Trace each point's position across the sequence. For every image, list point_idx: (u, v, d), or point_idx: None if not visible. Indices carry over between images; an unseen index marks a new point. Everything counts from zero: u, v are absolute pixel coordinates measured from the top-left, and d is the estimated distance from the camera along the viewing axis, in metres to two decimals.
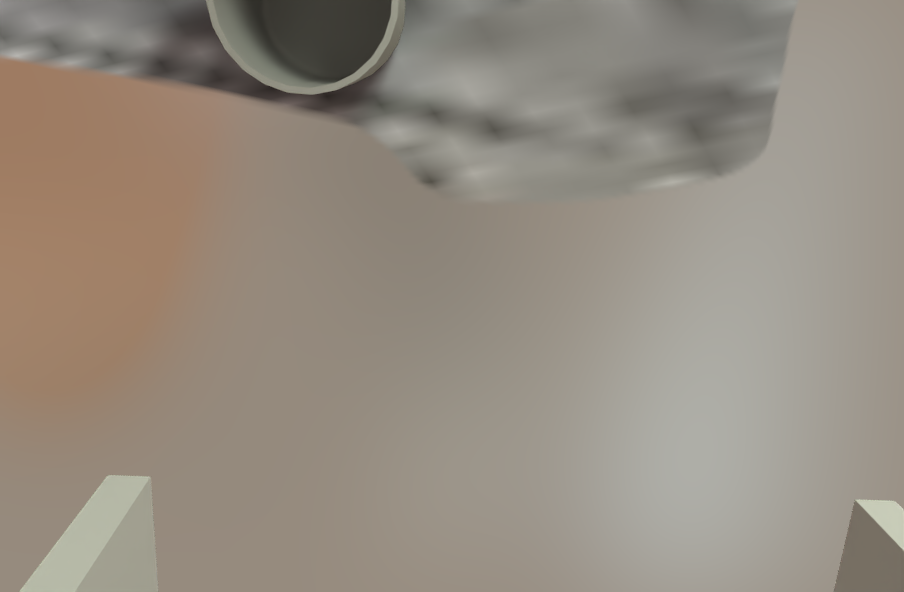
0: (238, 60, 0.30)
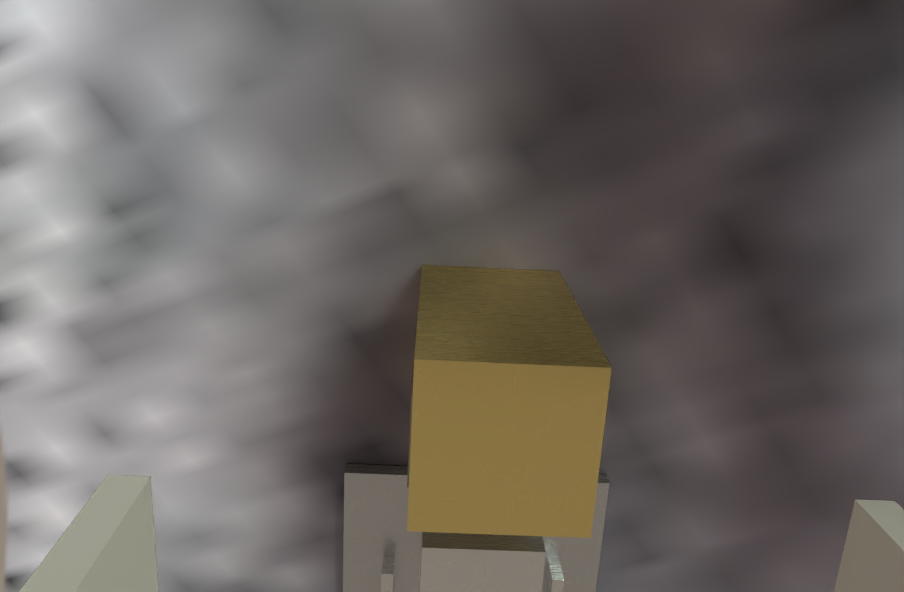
0: None
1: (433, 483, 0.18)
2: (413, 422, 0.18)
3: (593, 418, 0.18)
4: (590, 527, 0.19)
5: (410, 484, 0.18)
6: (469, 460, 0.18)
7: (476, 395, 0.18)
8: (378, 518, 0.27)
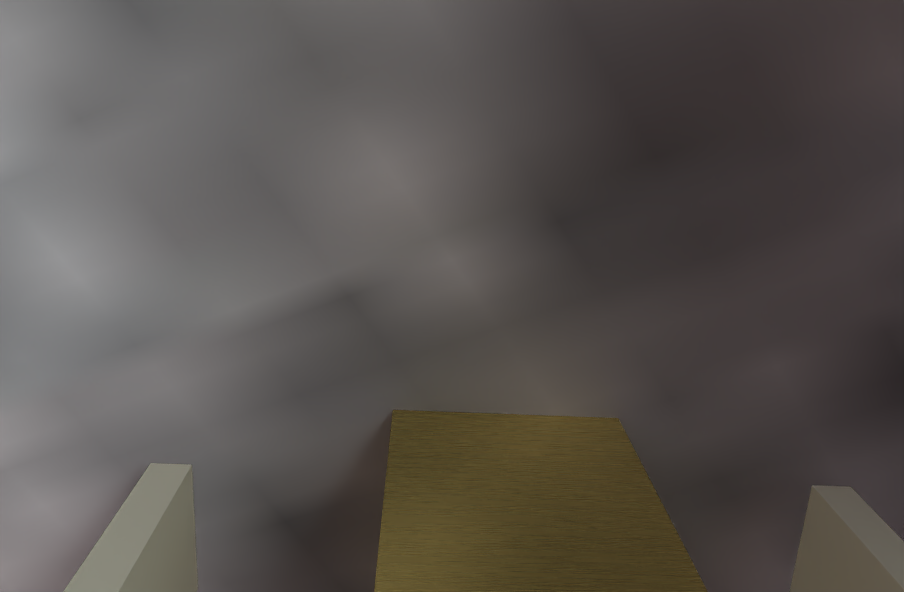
0: None
1: None
2: None
3: None
4: None
5: None
6: None
7: None
8: None
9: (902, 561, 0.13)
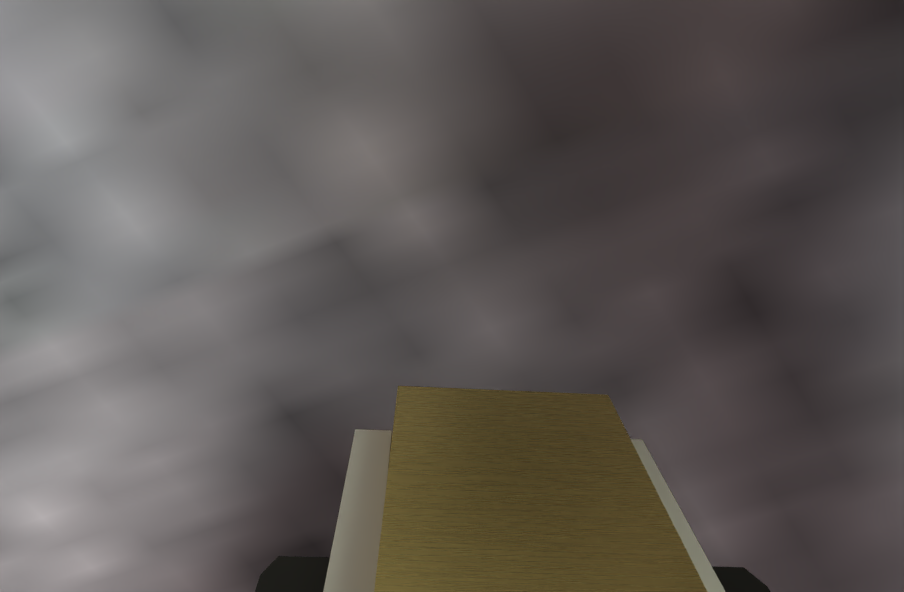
0: None
1: None
2: None
3: None
4: None
5: None
6: None
7: None
8: None
9: None
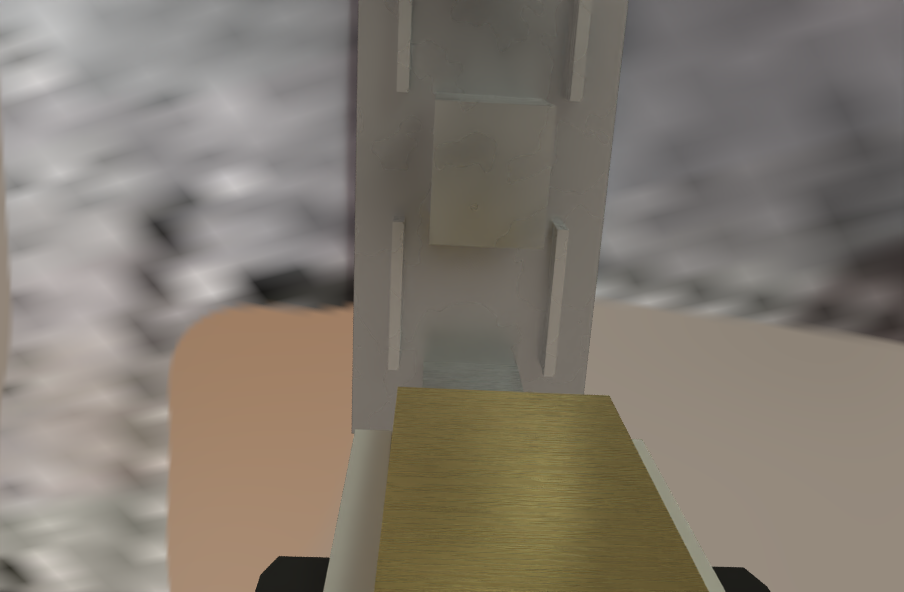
0: None
1: None
2: None
3: None
4: None
5: None
6: None
7: None
8: None
9: None
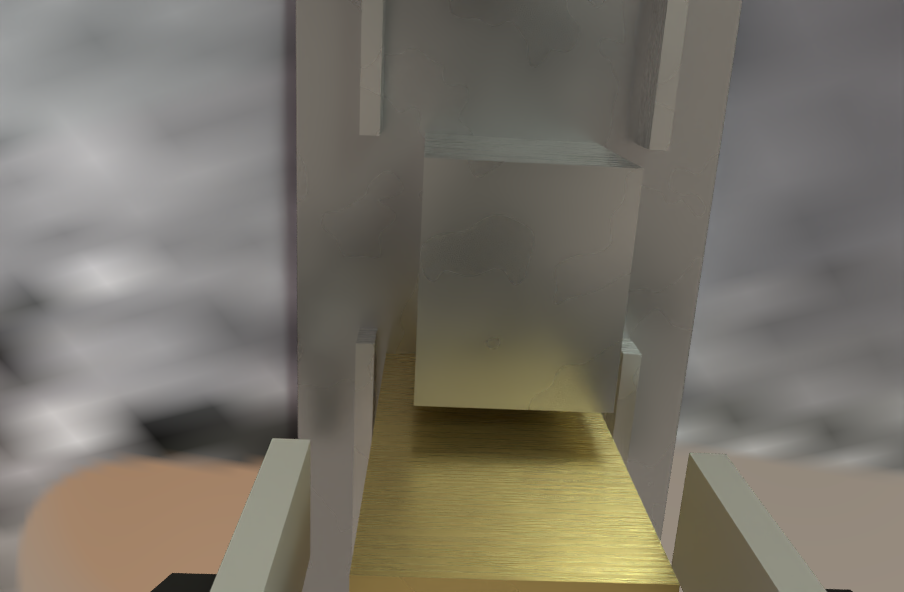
0: None
1: None
2: None
3: None
4: None
5: None
6: None
7: None
8: None
9: (753, 518, 0.14)
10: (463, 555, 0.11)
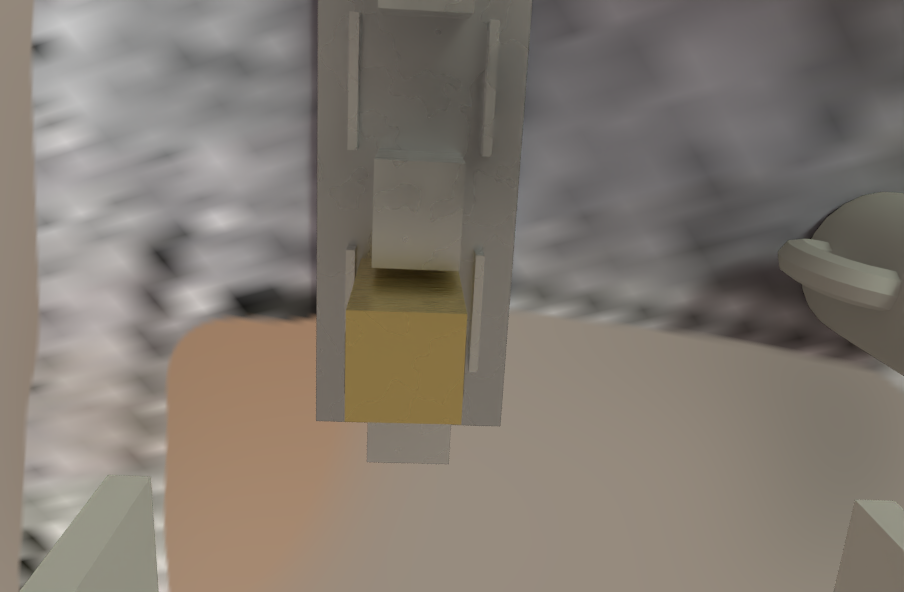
0: None
1: (360, 389, 0.29)
2: (346, 350, 0.29)
3: (458, 346, 0.29)
4: (460, 417, 0.30)
5: (345, 390, 0.29)
6: (382, 374, 0.29)
7: (385, 332, 0.29)
8: None
9: None
10: (388, 307, 0.29)
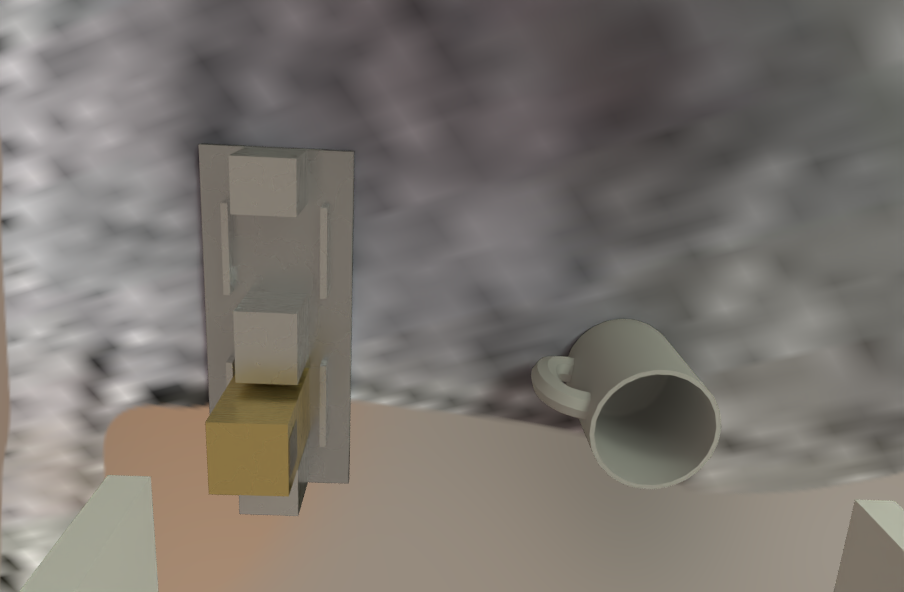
0: (606, 469, 0.44)
1: (218, 473, 0.43)
2: (207, 448, 0.43)
3: (282, 445, 0.43)
4: (287, 491, 0.44)
5: (208, 474, 0.43)
6: (232, 463, 0.43)
7: (232, 436, 0.43)
8: (219, 174, 0.46)
9: None
10: (236, 419, 0.43)
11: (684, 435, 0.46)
